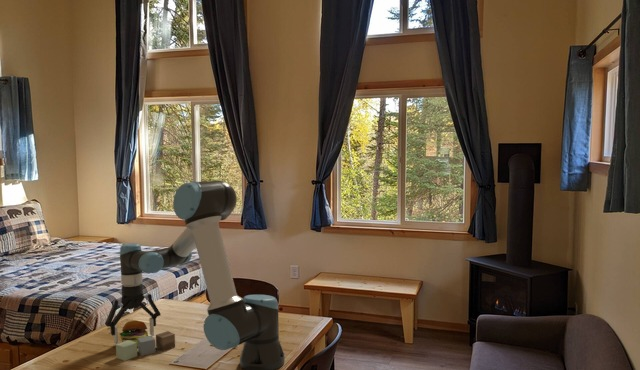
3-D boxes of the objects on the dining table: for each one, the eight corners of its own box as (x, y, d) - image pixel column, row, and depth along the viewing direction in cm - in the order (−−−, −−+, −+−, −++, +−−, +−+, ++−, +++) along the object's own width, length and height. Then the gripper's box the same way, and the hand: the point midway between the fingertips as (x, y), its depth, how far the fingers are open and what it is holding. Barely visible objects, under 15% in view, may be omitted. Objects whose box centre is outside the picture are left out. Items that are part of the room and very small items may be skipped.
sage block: (137, 356, 173) (136, 342, 173) (125, 361, 169) (124, 347, 169) (128, 353, 176) (128, 339, 176) (116, 358, 172) (115, 344, 172)
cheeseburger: (118, 350, 178) (117, 323, 180) (122, 347, 188) (121, 321, 190) (147, 346, 181) (146, 319, 183) (149, 343, 191) (148, 317, 193)
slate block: (155, 352, 176) (154, 339, 176) (141, 356, 173) (140, 342, 173) (152, 348, 180) (151, 335, 180) (138, 351, 178) (137, 338, 177)
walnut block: (175, 347, 181) (174, 334, 181) (162, 351, 177) (162, 337, 177) (168, 343, 184) (167, 331, 184) (156, 347, 181) (155, 334, 181)
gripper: (161, 277, 195) (163, 329, 196) (94, 287, 180) (97, 343, 181) (167, 280, 189) (169, 334, 190) (99, 292, 174) (102, 349, 175)
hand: (134, 338), depth 186 cm, fingers open, 13 cm apart
